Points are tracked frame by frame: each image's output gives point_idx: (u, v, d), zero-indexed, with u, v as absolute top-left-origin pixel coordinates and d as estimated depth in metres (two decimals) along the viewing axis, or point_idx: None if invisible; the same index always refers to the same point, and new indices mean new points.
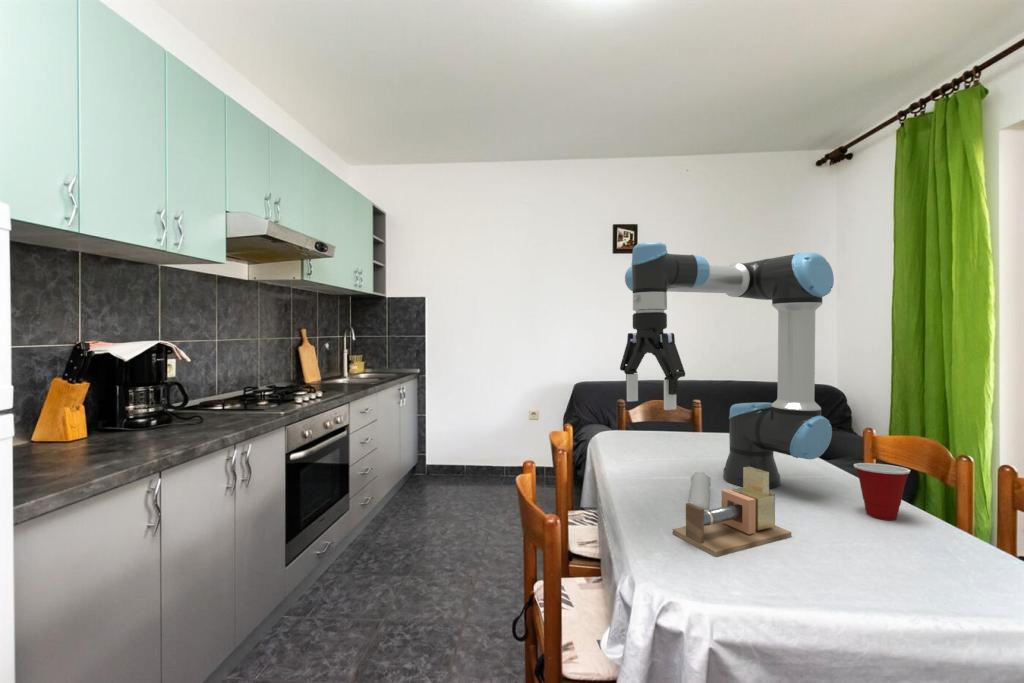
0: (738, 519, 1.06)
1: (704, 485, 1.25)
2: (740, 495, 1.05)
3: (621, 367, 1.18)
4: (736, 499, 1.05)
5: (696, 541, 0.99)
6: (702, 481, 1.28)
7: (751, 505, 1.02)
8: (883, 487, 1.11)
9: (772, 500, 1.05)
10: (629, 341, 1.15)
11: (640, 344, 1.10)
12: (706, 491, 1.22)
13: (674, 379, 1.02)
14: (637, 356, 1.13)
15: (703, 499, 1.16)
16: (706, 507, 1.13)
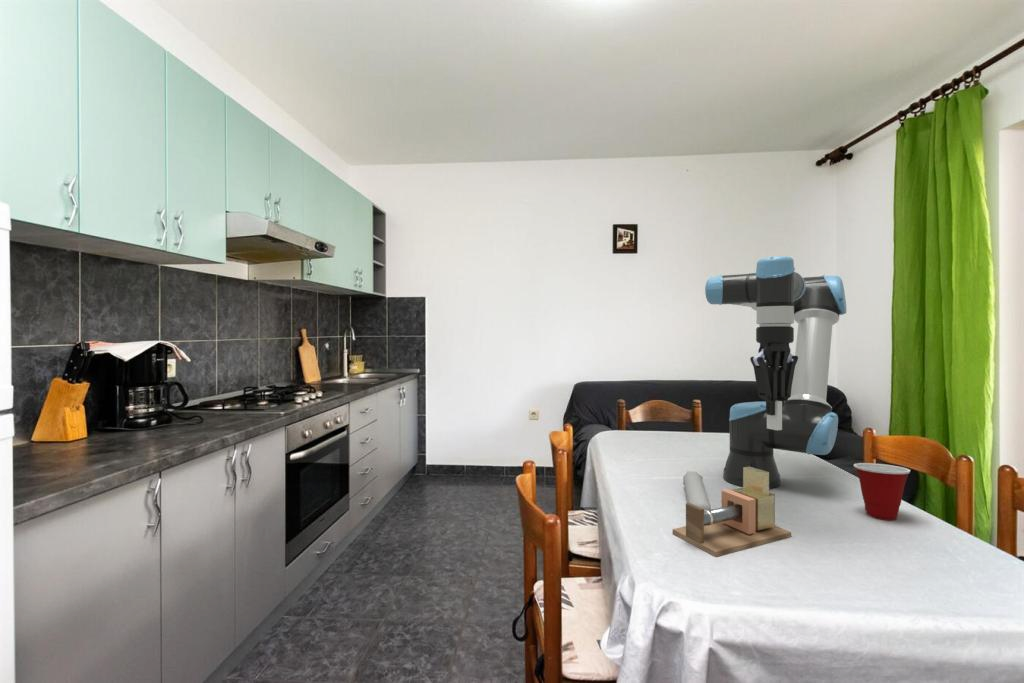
0: (738, 519, 1.06)
1: (700, 484, 1.26)
2: (740, 495, 1.05)
3: None
4: (736, 499, 1.05)
5: (696, 541, 0.99)
6: (697, 480, 1.28)
7: (751, 505, 1.02)
8: (883, 487, 1.11)
9: (772, 500, 1.05)
10: None
11: None
12: (703, 490, 1.23)
13: (767, 400, 1.09)
14: None
15: (704, 499, 1.16)
16: (709, 507, 1.13)
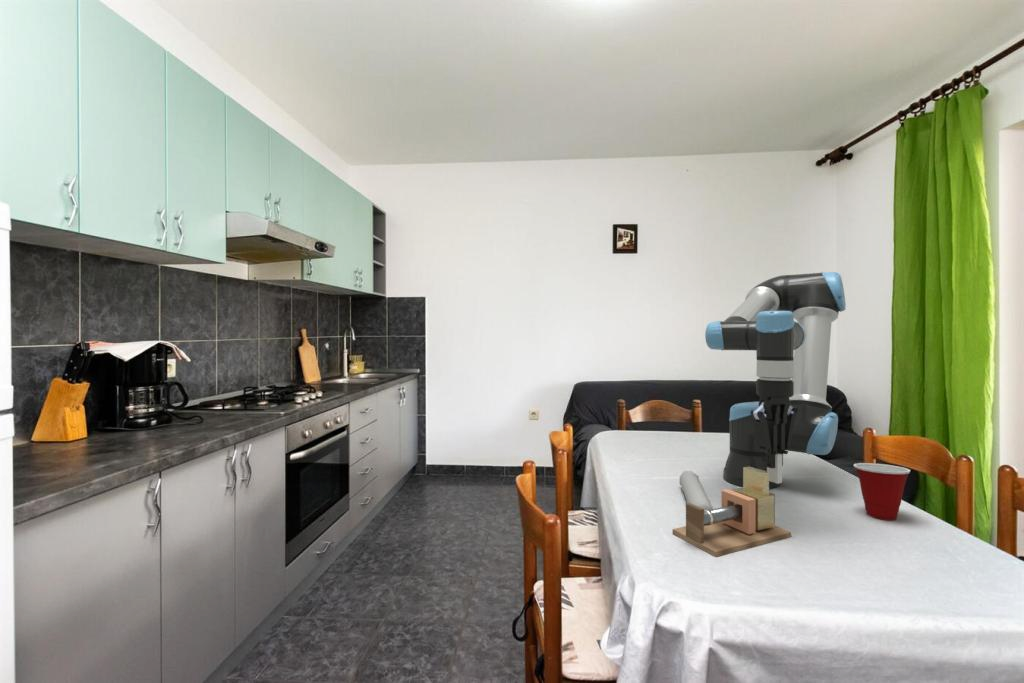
0: (738, 519, 1.06)
1: (698, 484, 1.26)
2: (740, 495, 1.05)
3: None
4: (736, 499, 1.05)
5: (696, 541, 0.99)
6: (695, 480, 1.29)
7: (751, 505, 1.02)
8: (883, 487, 1.11)
9: (772, 500, 1.05)
10: None
11: None
12: (702, 490, 1.23)
13: (767, 453, 1.09)
14: None
15: (705, 499, 1.16)
16: (710, 507, 1.13)
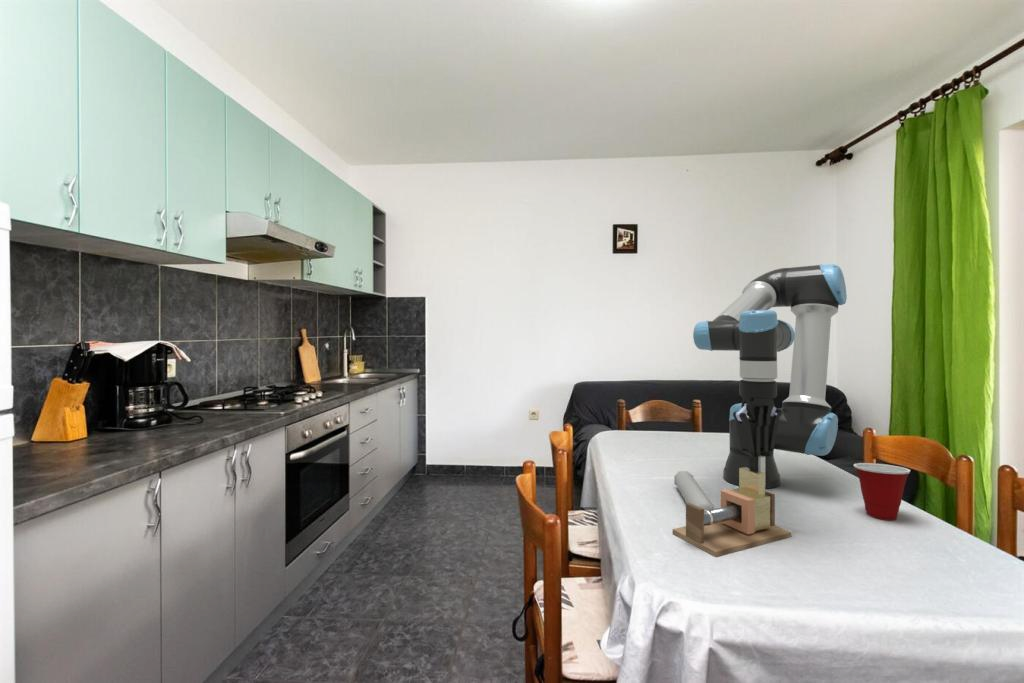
0: (737, 519, 1.06)
1: (695, 484, 1.26)
2: (739, 495, 1.05)
3: None
4: (735, 499, 1.05)
5: (696, 541, 0.99)
6: (691, 480, 1.29)
7: (750, 505, 1.02)
8: (883, 487, 1.11)
9: (768, 501, 1.04)
10: None
11: None
12: (701, 490, 1.23)
13: (750, 455, 1.07)
14: None
15: (706, 499, 1.16)
16: (712, 507, 1.13)
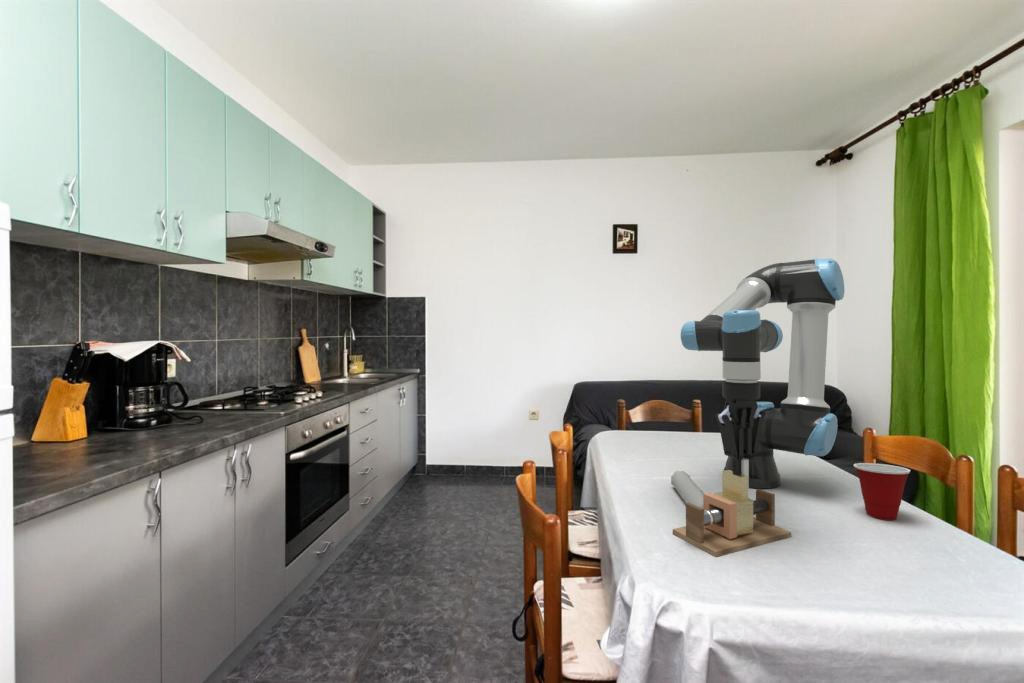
0: (720, 523, 1.04)
1: (694, 484, 1.27)
2: (722, 499, 1.03)
3: None
4: (717, 503, 1.02)
5: (696, 541, 0.99)
6: (689, 480, 1.29)
7: (733, 509, 1.00)
8: (883, 487, 1.11)
9: (751, 505, 1.02)
10: None
11: None
12: (700, 490, 1.23)
13: (733, 458, 1.05)
14: None
15: None
16: None
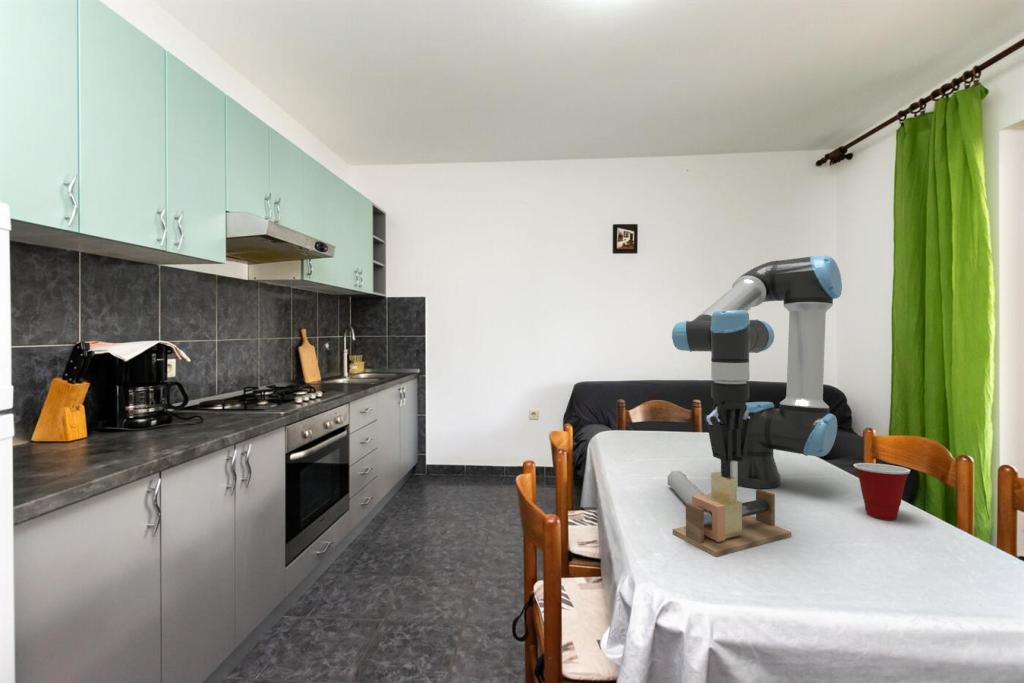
0: (708, 526, 1.02)
1: (692, 484, 1.27)
2: (710, 501, 1.01)
3: None
4: (706, 505, 1.01)
5: (696, 541, 0.99)
6: (687, 480, 1.29)
7: (721, 511, 0.99)
8: (883, 487, 1.11)
9: (740, 507, 1.01)
10: None
11: None
12: (698, 489, 1.23)
13: (722, 460, 1.04)
14: None
15: None
16: None
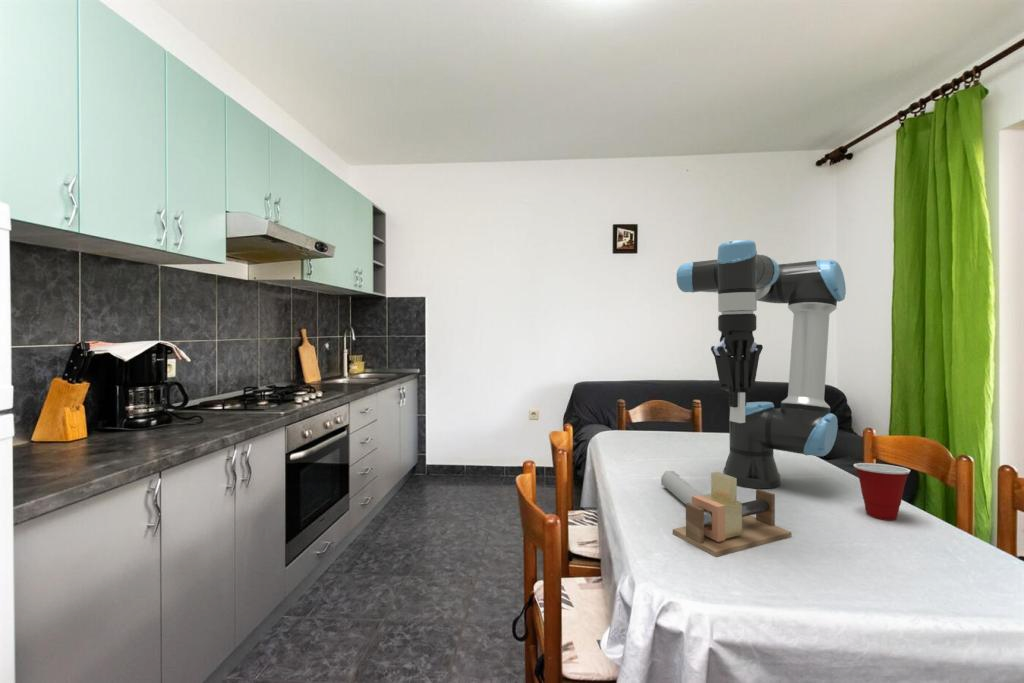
0: (708, 526, 1.02)
1: None
2: (710, 501, 1.01)
3: None
4: (706, 505, 1.01)
5: (696, 541, 0.99)
6: (683, 480, 1.29)
7: (721, 511, 0.99)
8: (883, 487, 1.11)
9: (740, 507, 1.01)
10: None
11: None
12: None
13: (729, 392, 1.04)
14: None
15: None
16: None
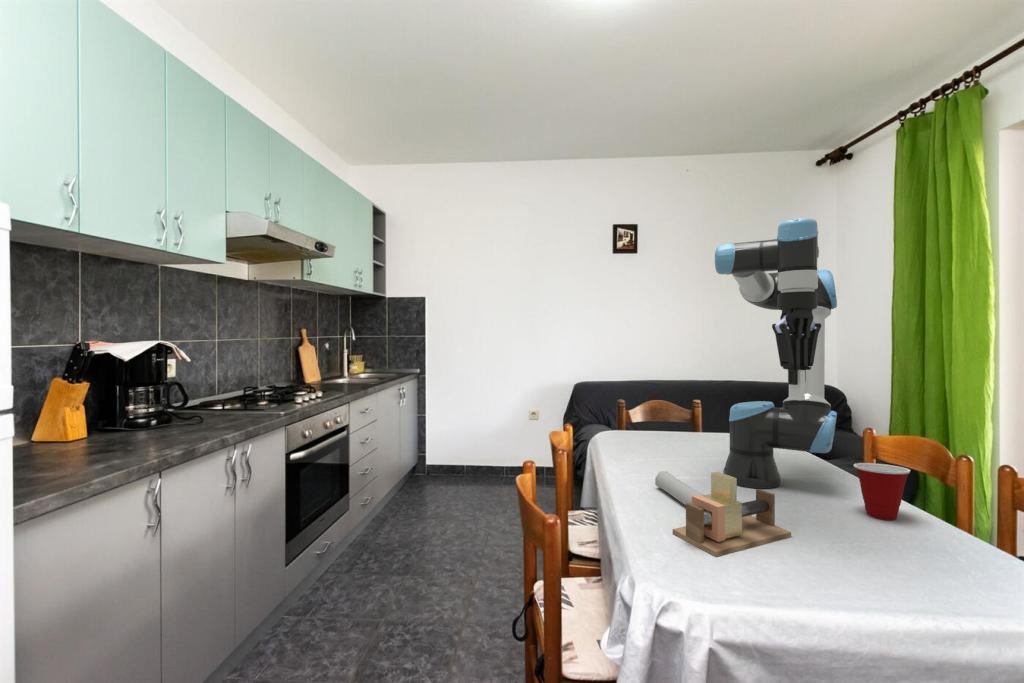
0: (708, 526, 1.02)
1: None
2: (710, 501, 1.01)
3: None
4: (706, 505, 1.01)
5: (696, 541, 0.99)
6: (679, 480, 1.29)
7: (721, 511, 0.99)
8: (883, 487, 1.11)
9: (740, 507, 1.01)
10: None
11: None
12: None
13: (789, 369, 1.04)
14: None
15: None
16: None
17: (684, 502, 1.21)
